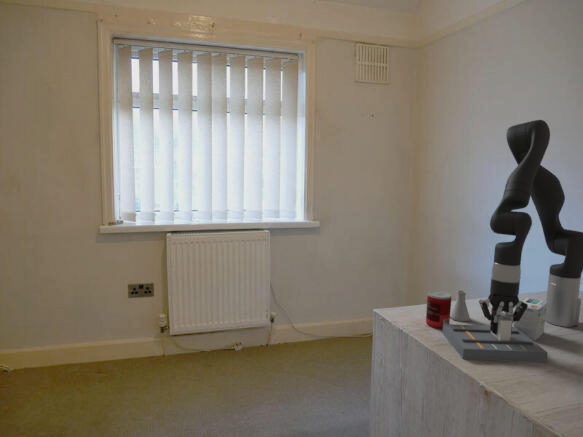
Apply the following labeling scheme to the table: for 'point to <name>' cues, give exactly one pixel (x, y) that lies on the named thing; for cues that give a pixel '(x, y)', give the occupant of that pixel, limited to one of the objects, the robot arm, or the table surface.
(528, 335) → the light bulb box
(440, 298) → the canned food
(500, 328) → the tall grey rectangular block
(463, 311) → the flask
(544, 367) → the table surface
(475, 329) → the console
